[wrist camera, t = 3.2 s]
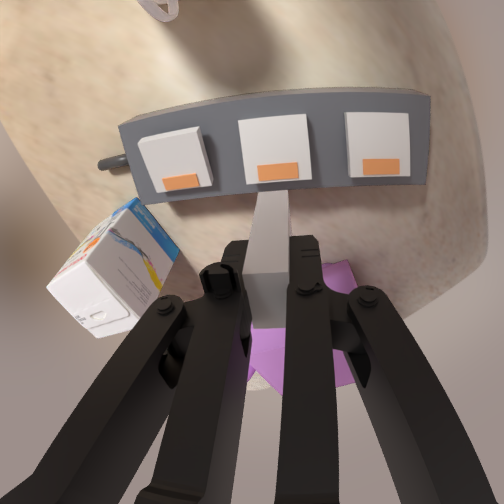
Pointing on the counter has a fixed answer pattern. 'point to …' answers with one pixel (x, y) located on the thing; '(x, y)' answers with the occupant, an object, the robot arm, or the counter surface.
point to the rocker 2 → (275, 148)
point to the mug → (150, 5)
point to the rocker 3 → (377, 144)
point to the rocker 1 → (176, 160)
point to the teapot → (273, 340)
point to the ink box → (116, 271)
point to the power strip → (267, 105)
